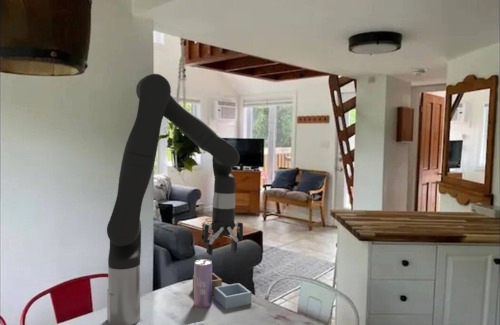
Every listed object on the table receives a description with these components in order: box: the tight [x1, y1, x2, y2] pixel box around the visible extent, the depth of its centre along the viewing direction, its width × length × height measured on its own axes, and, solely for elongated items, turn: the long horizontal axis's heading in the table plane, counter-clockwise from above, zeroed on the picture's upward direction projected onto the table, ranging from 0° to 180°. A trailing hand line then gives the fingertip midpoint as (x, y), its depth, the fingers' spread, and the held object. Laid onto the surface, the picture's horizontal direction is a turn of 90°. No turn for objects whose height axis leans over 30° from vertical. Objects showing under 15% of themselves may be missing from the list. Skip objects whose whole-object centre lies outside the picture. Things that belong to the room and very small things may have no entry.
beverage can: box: [193, 259, 213, 309], centre depth 125 cm, size 6×6×15 cm
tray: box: [213, 282, 253, 310], centre depth 128 cm, size 10×10×5 cm
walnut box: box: [192, 272, 223, 297], centre depth 136 cm, size 8×8×6 cm
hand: (221, 253), depth 127 cm, fingers open, 8 cm apart
